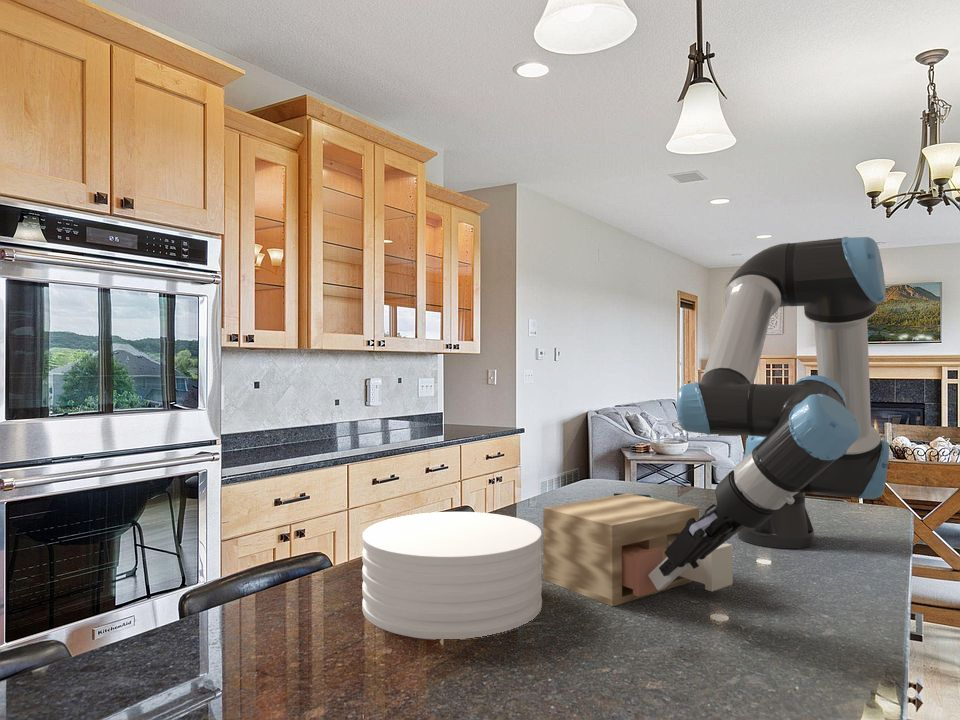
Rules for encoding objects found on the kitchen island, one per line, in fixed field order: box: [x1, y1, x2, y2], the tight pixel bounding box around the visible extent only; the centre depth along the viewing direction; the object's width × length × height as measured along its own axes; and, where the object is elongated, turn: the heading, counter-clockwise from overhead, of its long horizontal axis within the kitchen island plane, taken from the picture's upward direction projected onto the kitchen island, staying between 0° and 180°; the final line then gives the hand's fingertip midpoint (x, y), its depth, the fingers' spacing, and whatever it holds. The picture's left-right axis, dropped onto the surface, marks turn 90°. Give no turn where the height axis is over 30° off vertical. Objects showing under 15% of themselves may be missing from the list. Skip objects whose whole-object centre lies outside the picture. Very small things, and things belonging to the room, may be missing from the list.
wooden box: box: [542, 492, 700, 607], centre depth 115 cm, size 16×22×12 cm
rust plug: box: [622, 545, 663, 597], centre depth 110 cm, size 17×6×6 cm, turn 36°
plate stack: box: [361, 511, 543, 640], centre depth 104 cm, size 28×28×12 cm
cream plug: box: [667, 534, 734, 592], centre depth 112 cm, size 17×6×6 cm, turn 36°
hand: (656, 581), depth 102 cm, fingers closed
